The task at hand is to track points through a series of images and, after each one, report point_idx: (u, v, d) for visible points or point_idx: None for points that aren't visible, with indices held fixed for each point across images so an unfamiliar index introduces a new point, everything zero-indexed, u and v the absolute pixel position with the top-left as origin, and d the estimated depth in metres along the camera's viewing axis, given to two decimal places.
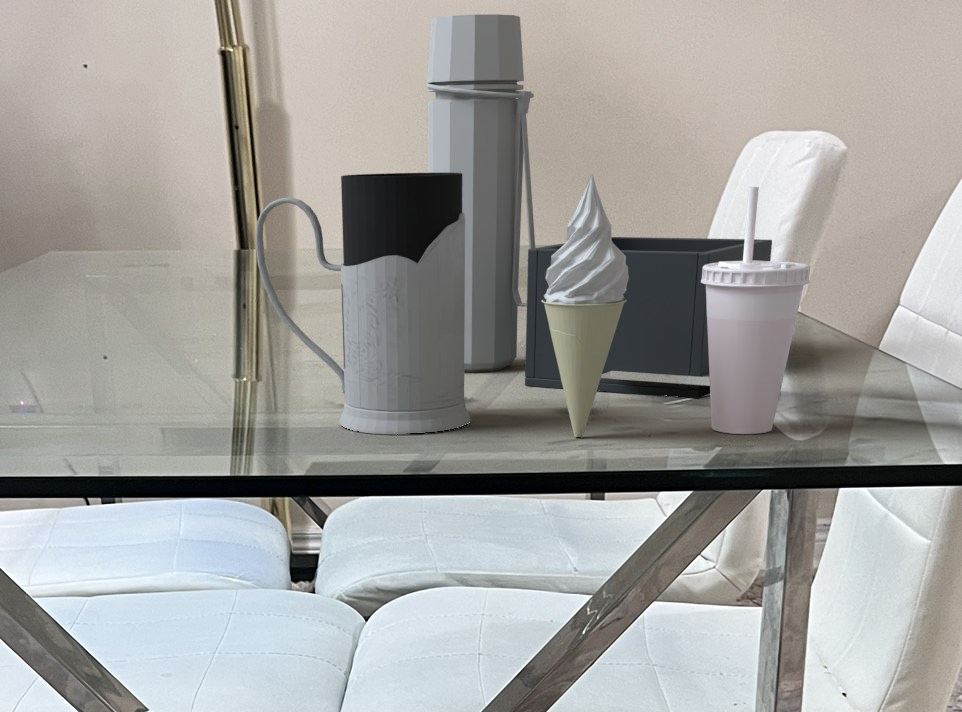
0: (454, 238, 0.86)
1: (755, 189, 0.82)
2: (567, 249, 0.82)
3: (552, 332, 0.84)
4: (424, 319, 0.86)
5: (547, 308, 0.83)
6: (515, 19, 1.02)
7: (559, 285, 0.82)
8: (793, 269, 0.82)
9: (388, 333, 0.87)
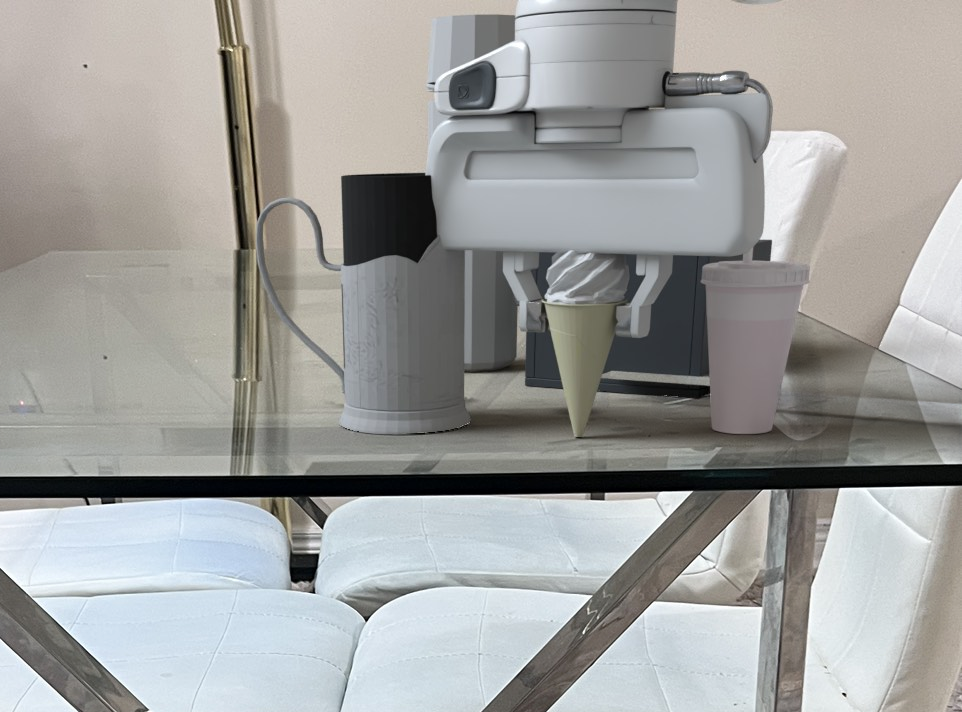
0: None
1: None
2: None
3: (552, 332, 0.84)
4: (424, 319, 0.86)
5: (547, 308, 0.83)
6: (515, 19, 1.02)
7: (560, 285, 0.82)
8: (793, 269, 0.82)
9: (388, 333, 0.87)
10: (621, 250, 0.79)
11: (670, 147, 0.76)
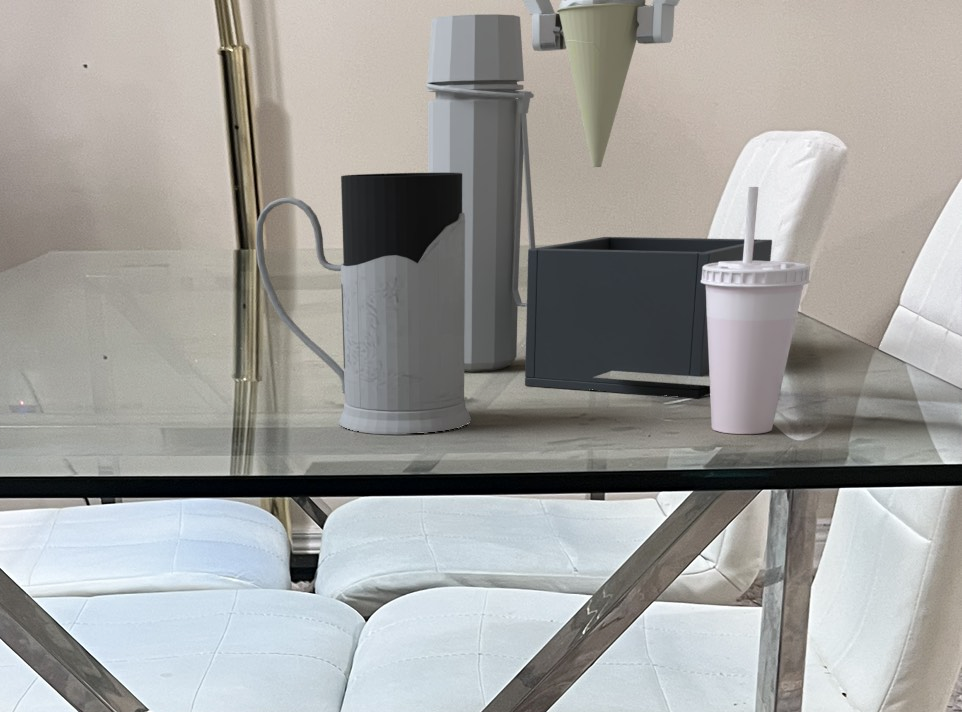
0: (454, 238, 0.86)
1: (755, 189, 0.82)
2: None
3: (568, 44, 0.78)
4: (424, 319, 0.86)
5: (563, 15, 0.77)
6: (515, 19, 1.02)
7: None
8: (793, 269, 0.82)
9: (388, 333, 0.87)
10: None
11: None
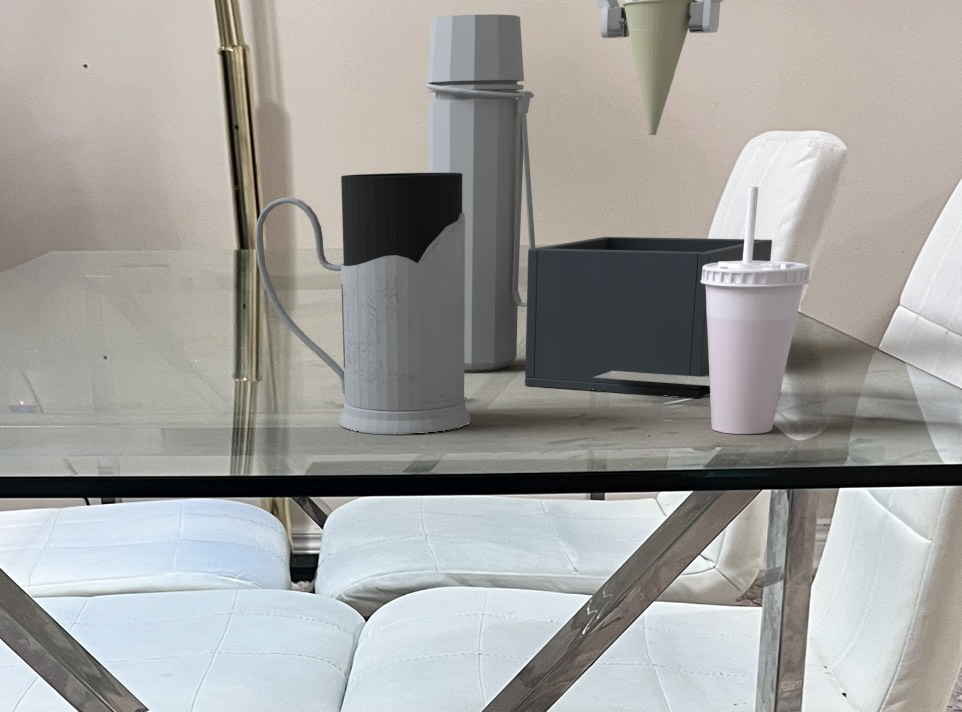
0: (454, 238, 0.86)
1: (755, 189, 0.82)
2: None
3: (631, 32, 0.94)
4: (424, 319, 0.86)
5: (628, 9, 0.94)
6: (515, 19, 1.02)
7: None
8: (793, 269, 0.82)
9: (388, 333, 0.87)
10: None
11: None
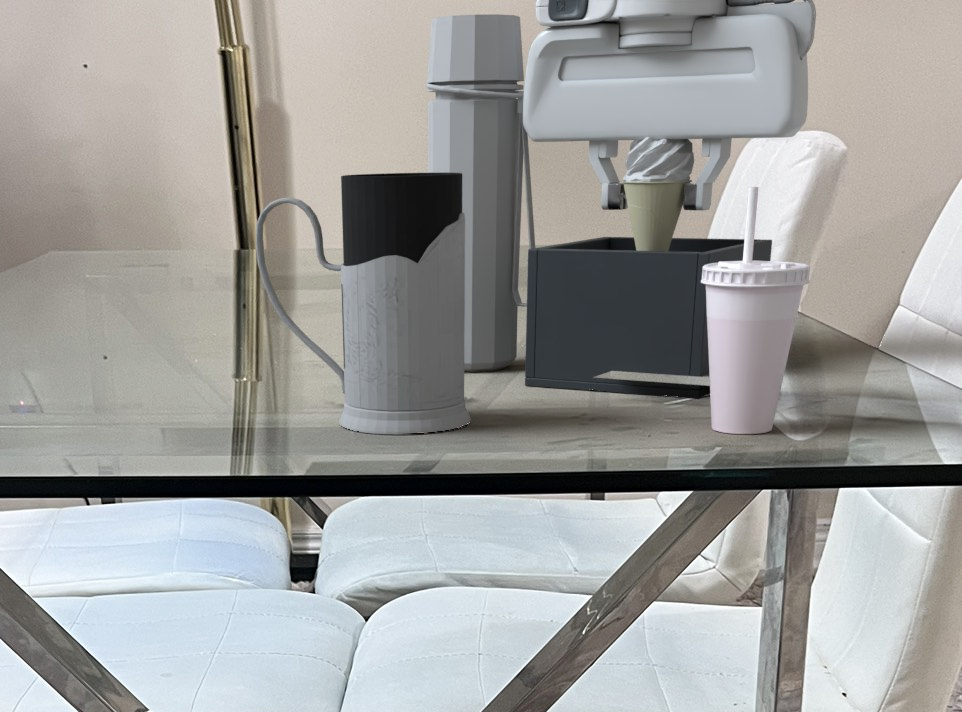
0: (454, 238, 0.86)
1: (755, 189, 0.82)
2: None
3: (630, 207, 1.01)
4: (424, 319, 0.86)
5: (626, 187, 1.00)
6: (515, 19, 1.02)
7: (637, 167, 0.99)
8: (793, 269, 0.82)
9: (388, 333, 0.87)
10: (689, 135, 0.97)
11: (732, 48, 0.93)
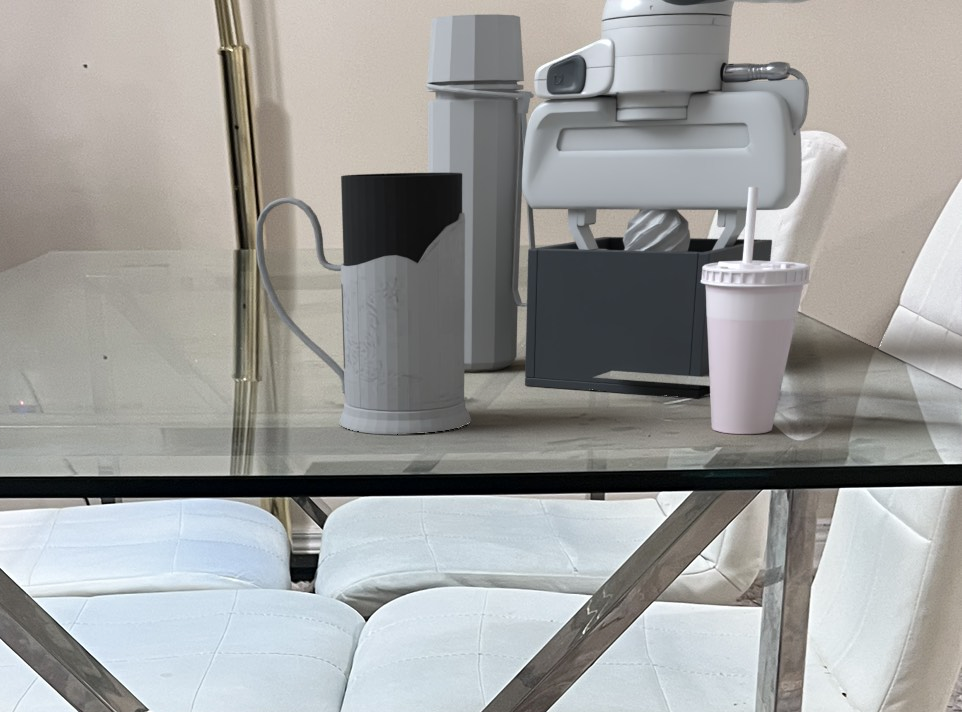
0: (454, 238, 0.86)
1: (755, 189, 0.82)
2: (641, 216, 1.01)
3: None
4: (424, 319, 0.86)
5: None
6: (515, 19, 1.02)
7: (635, 245, 1.01)
8: (793, 269, 0.82)
9: (388, 333, 0.87)
10: (685, 206, 0.99)
11: (727, 123, 0.95)
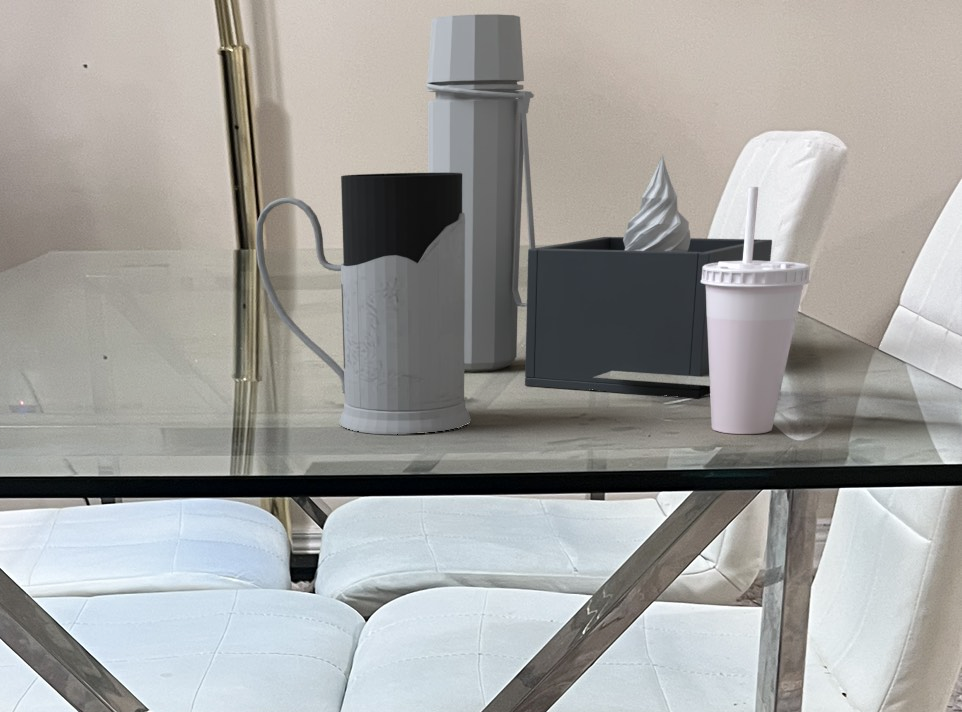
0: (454, 238, 0.86)
1: (755, 189, 0.82)
2: (641, 216, 1.01)
3: None
4: (424, 319, 0.86)
5: None
6: (515, 19, 1.02)
7: (635, 245, 1.01)
8: (793, 269, 0.82)
9: (388, 333, 0.87)
10: None
11: None
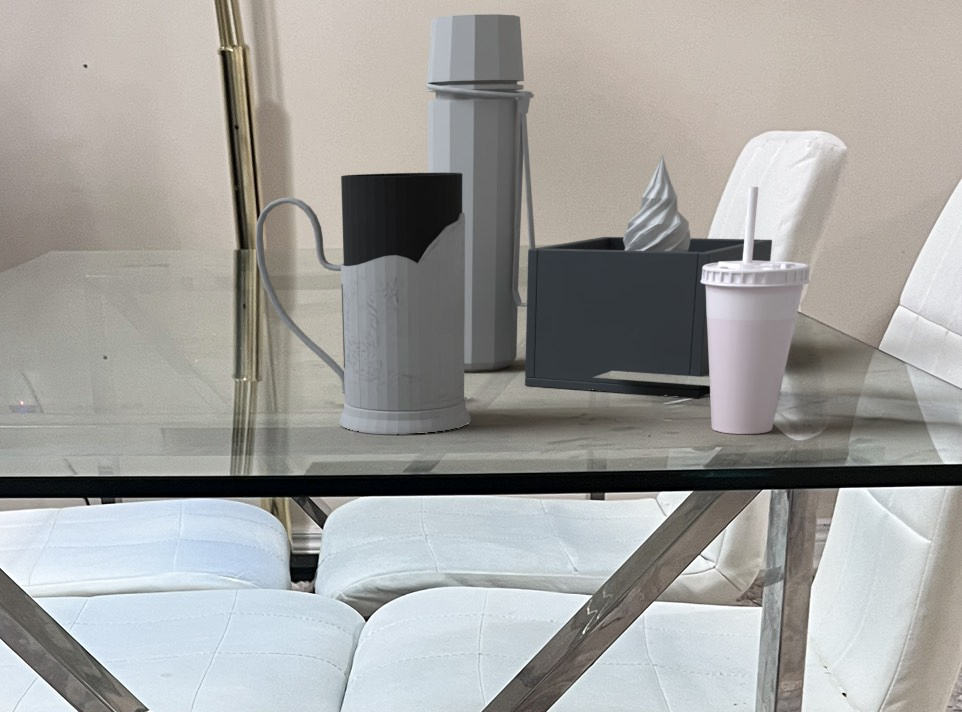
0: (454, 238, 0.86)
1: (755, 189, 0.82)
2: (641, 216, 1.01)
3: None
4: (424, 319, 0.86)
5: None
6: (515, 19, 1.02)
7: (635, 245, 1.01)
8: (793, 269, 0.82)
9: (388, 333, 0.87)
10: None
11: None
